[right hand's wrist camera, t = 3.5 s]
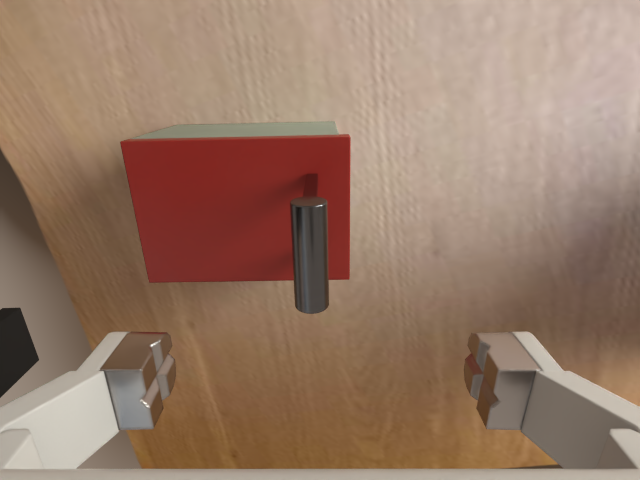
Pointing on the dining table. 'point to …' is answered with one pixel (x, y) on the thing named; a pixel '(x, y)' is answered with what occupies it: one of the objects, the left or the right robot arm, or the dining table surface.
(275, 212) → the lid
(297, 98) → the dining table surface
